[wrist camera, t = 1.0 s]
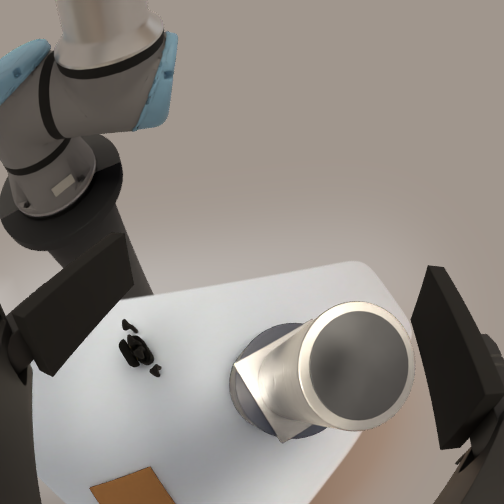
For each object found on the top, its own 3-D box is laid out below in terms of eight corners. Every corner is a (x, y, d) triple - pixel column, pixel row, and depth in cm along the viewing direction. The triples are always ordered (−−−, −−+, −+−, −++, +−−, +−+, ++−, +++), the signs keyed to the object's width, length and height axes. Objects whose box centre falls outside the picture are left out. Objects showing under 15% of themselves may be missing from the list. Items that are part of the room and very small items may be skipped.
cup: (242, 366, 26) (271, 343, 15) (310, 326, 28) (374, 278, 17) (285, 434, 23) (343, 458, 13) (350, 390, 26) (434, 377, 15)
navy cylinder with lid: (211, 365, 33) (212, 357, 26) (293, 320, 36) (316, 300, 29) (261, 448, 29) (277, 462, 22) (341, 397, 33) (374, 394, 26)
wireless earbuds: (167, 375, 31) (160, 372, 27) (148, 387, 30) (139, 385, 26) (134, 323, 33) (123, 312, 29) (116, 334, 32) (103, 324, 28)
